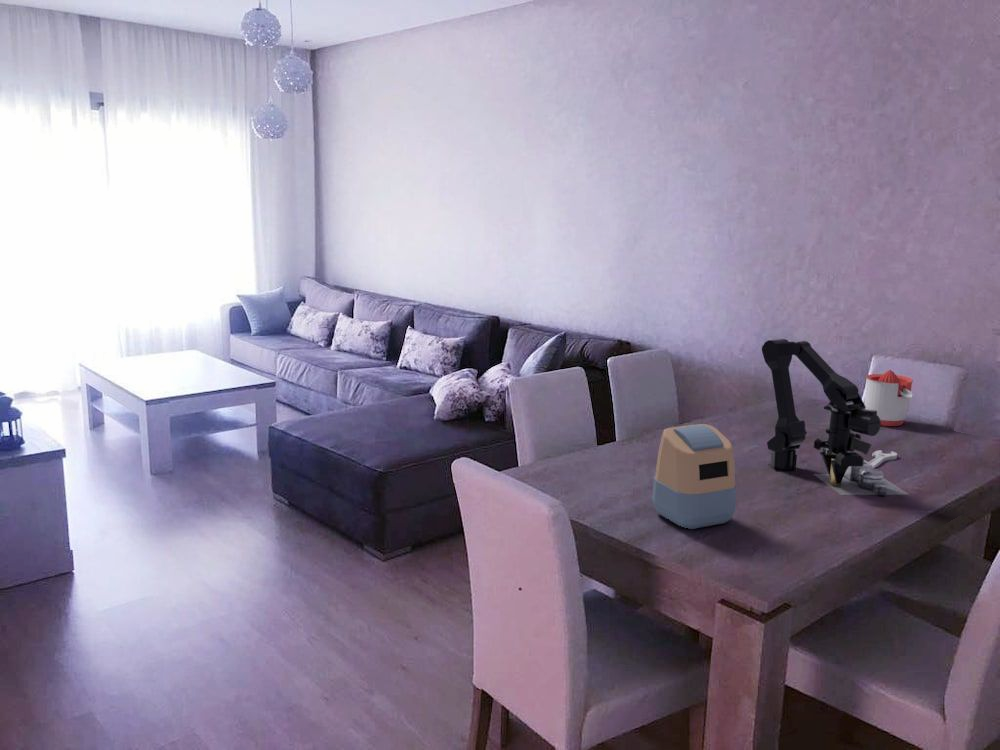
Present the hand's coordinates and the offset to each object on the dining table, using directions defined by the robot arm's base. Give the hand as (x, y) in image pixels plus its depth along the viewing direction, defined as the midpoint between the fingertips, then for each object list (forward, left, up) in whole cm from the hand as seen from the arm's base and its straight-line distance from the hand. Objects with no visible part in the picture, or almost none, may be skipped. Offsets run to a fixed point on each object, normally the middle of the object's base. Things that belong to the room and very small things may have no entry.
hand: (835, 481), depth 227 cm
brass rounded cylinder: (0, 0, -1) cm, 1 cm away
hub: (+9, -2, -2) cm, 9 cm away
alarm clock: (-47, -23, -2) cm, 52 cm away
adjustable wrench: (+22, +21, -2) cm, 31 cm away
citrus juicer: (+50, +68, -2) cm, 84 cm away
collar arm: (+9, 0, -1) cm, 9 cm away
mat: (+8, +1, -2) cm, 8 cm away
